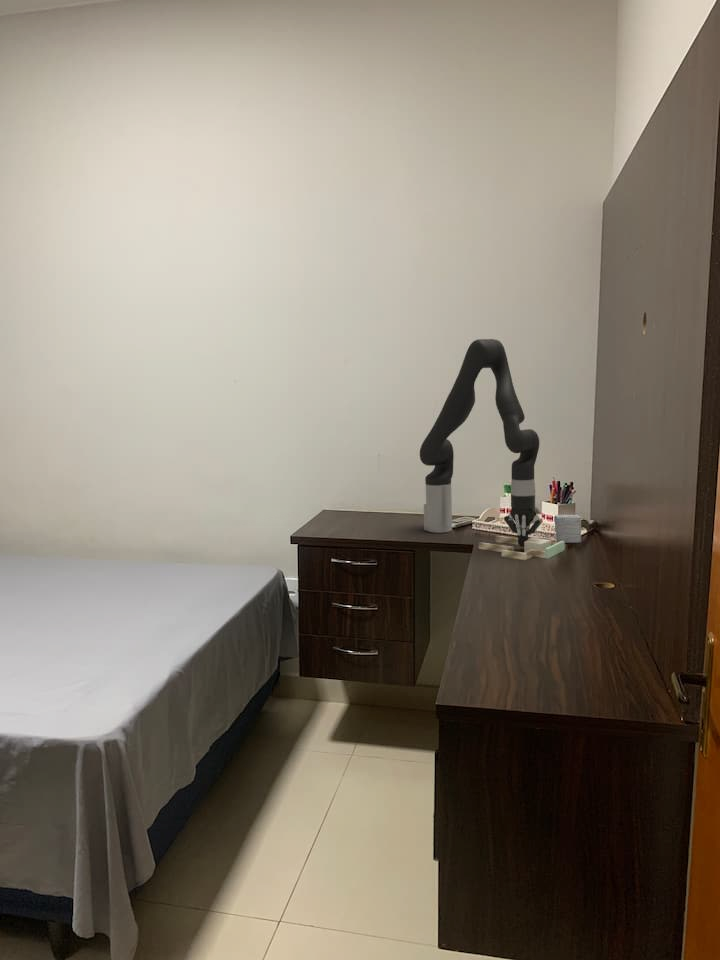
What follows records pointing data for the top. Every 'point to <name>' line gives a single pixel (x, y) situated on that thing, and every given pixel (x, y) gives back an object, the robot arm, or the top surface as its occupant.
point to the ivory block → (536, 544)
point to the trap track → (510, 553)
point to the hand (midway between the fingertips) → (523, 546)
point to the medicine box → (568, 528)
